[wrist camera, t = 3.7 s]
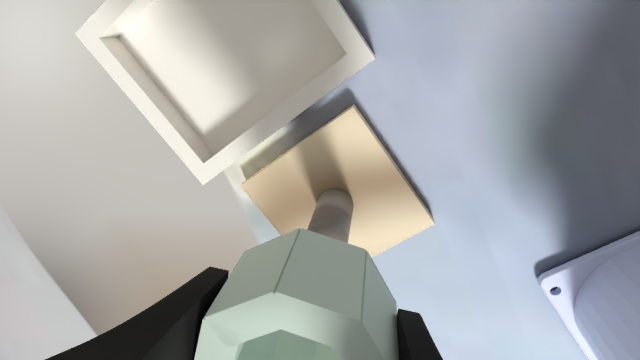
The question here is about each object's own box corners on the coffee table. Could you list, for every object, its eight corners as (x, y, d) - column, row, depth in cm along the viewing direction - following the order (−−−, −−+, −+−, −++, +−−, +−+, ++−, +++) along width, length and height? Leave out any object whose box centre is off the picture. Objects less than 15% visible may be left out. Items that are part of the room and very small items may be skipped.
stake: (433, 216, 19) (447, 269, 15) (323, 275, 22) (309, 335, 17) (354, 103, 18) (345, 126, 14) (245, 180, 20) (209, 220, 16)
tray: (375, 55, 17) (374, 58, 15) (217, 172, 20) (203, 185, 19) (254, -128, 15) (238, -147, 14) (102, 33, 18) (74, 33, 17)
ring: (414, 265, 11) (424, 342, 8) (349, 402, 14) (341, 496, 11) (254, 212, 11) (213, 270, 9) (218, 356, 14) (177, 438, 11)
